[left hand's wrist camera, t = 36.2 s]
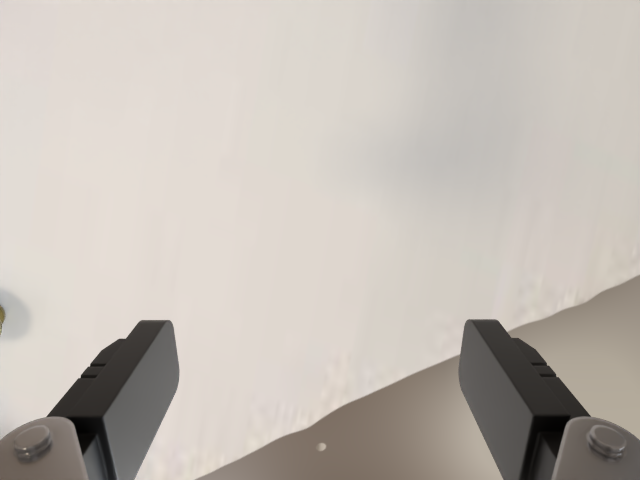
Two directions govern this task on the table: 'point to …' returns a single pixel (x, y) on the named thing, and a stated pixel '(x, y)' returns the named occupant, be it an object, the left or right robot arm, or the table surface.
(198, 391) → the table surface
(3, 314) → the cup
